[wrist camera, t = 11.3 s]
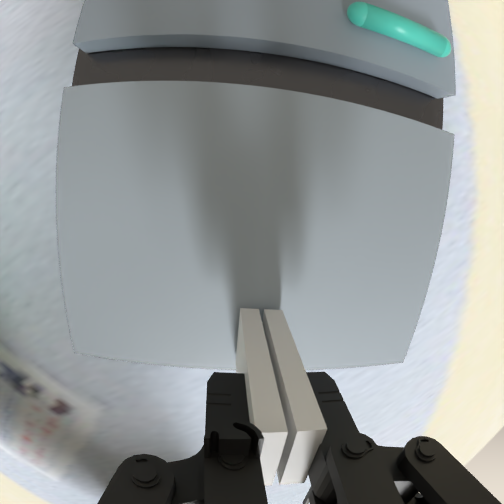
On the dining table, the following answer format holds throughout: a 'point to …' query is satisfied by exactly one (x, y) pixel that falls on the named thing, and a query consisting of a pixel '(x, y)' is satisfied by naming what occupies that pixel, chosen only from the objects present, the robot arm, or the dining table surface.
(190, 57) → the levelling base
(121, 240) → the panel
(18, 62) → the dining table surface
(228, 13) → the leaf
